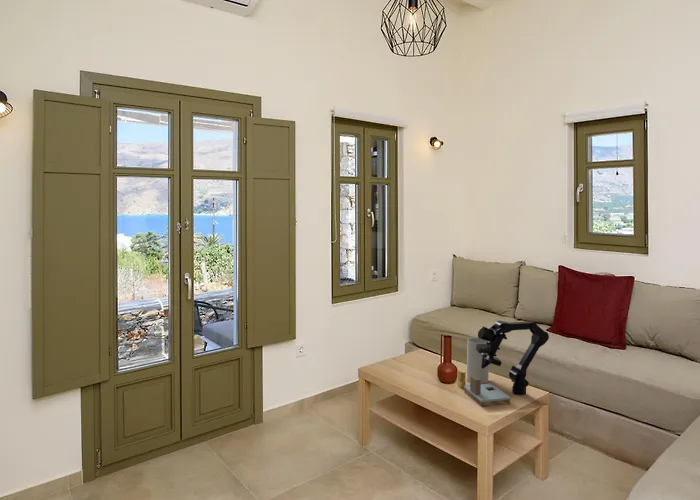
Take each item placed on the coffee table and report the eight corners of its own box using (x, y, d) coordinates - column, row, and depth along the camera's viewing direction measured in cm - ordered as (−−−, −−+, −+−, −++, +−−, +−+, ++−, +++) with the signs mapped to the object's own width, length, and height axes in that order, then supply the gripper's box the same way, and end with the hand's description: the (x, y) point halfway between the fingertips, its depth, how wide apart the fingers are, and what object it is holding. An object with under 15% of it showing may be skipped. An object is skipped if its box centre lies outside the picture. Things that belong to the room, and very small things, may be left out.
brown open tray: (490, 391, 268) (490, 385, 268) (509, 405, 249) (509, 399, 249) (464, 393, 265) (464, 387, 265) (481, 408, 246) (481, 402, 245)
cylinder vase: (490, 385, 278) (491, 343, 275) (469, 385, 278) (469, 343, 276) (485, 377, 290) (485, 337, 288) (464, 377, 290) (465, 337, 288)
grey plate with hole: (491, 385, 268) (491, 369, 268) (510, 399, 248) (510, 382, 248) (464, 387, 265) (464, 371, 264) (481, 402, 245) (481, 385, 244)
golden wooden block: (462, 387, 275) (463, 370, 274) (465, 389, 272) (465, 372, 271) (457, 387, 275) (457, 370, 274) (460, 389, 271) (460, 372, 271)
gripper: (474, 331, 264) (462, 356, 267) (489, 347, 247) (476, 373, 250) (491, 337, 267) (479, 361, 270) (507, 353, 250) (494, 378, 253)
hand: (482, 368), depth 261 cm, fingers closed
